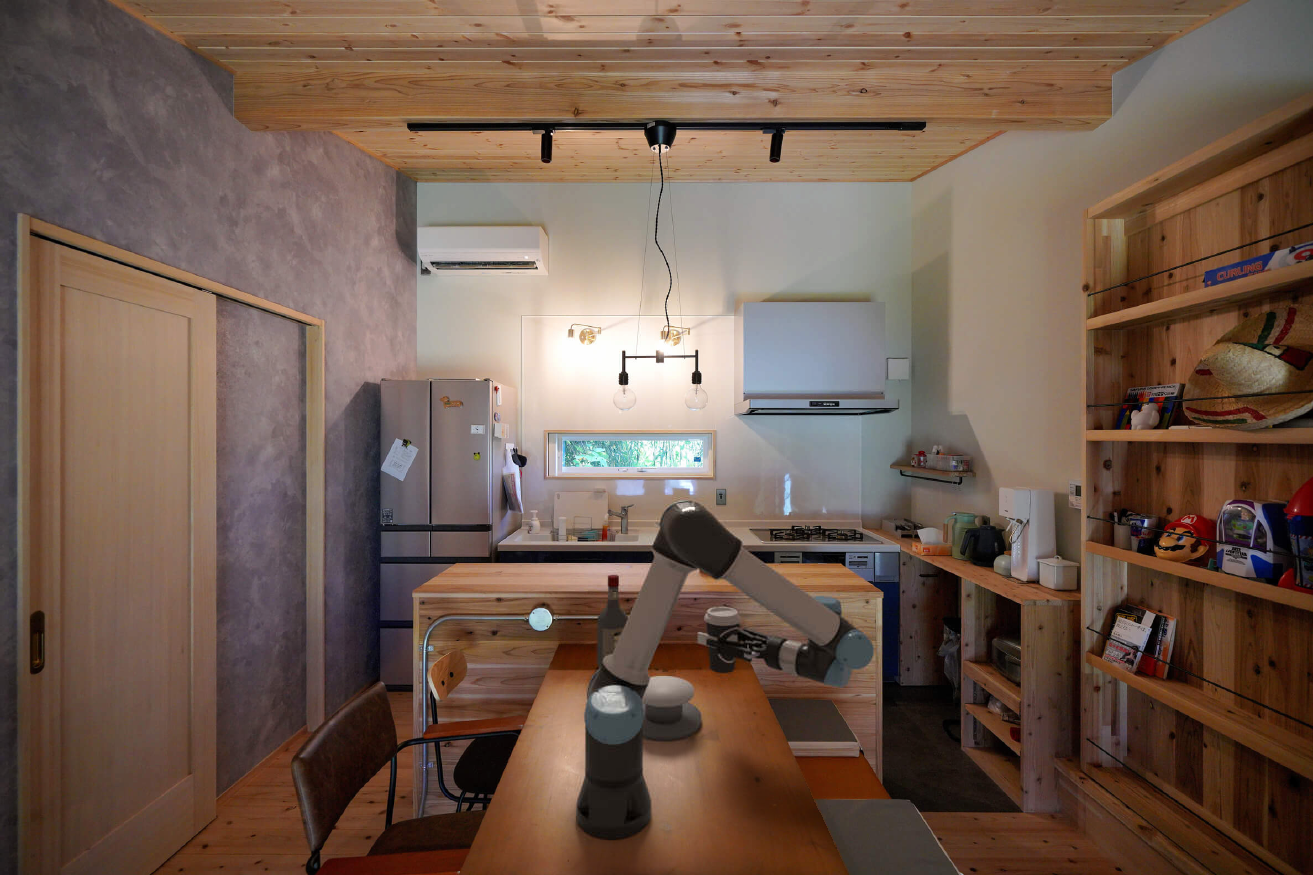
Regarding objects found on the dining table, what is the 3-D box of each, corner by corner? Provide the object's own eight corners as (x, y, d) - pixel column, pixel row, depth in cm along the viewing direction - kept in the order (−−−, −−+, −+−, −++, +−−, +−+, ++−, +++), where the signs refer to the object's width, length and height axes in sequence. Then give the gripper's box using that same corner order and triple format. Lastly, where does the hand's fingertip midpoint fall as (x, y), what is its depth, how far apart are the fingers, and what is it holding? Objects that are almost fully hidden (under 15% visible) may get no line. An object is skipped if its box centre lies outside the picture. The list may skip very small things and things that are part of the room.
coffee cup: (739, 661, 154) (739, 606, 153) (741, 676, 144) (741, 618, 144) (704, 659, 155) (704, 605, 154) (703, 674, 145) (703, 616, 145)
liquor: (595, 664, 187) (595, 574, 187) (620, 660, 191) (621, 571, 191) (604, 675, 179) (604, 581, 179) (631, 670, 183) (631, 578, 183)
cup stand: (698, 743, 140) (698, 709, 140) (619, 737, 143) (619, 703, 143) (703, 705, 160) (703, 675, 160) (634, 700, 163) (634, 670, 163)
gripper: (765, 684, 130) (684, 658, 145) (802, 657, 146) (726, 636, 160) (765, 651, 130) (685, 629, 144) (803, 628, 146) (727, 610, 160)
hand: (707, 633), depth 152 cm, fingers closed on coffee cup, 7 cm apart
